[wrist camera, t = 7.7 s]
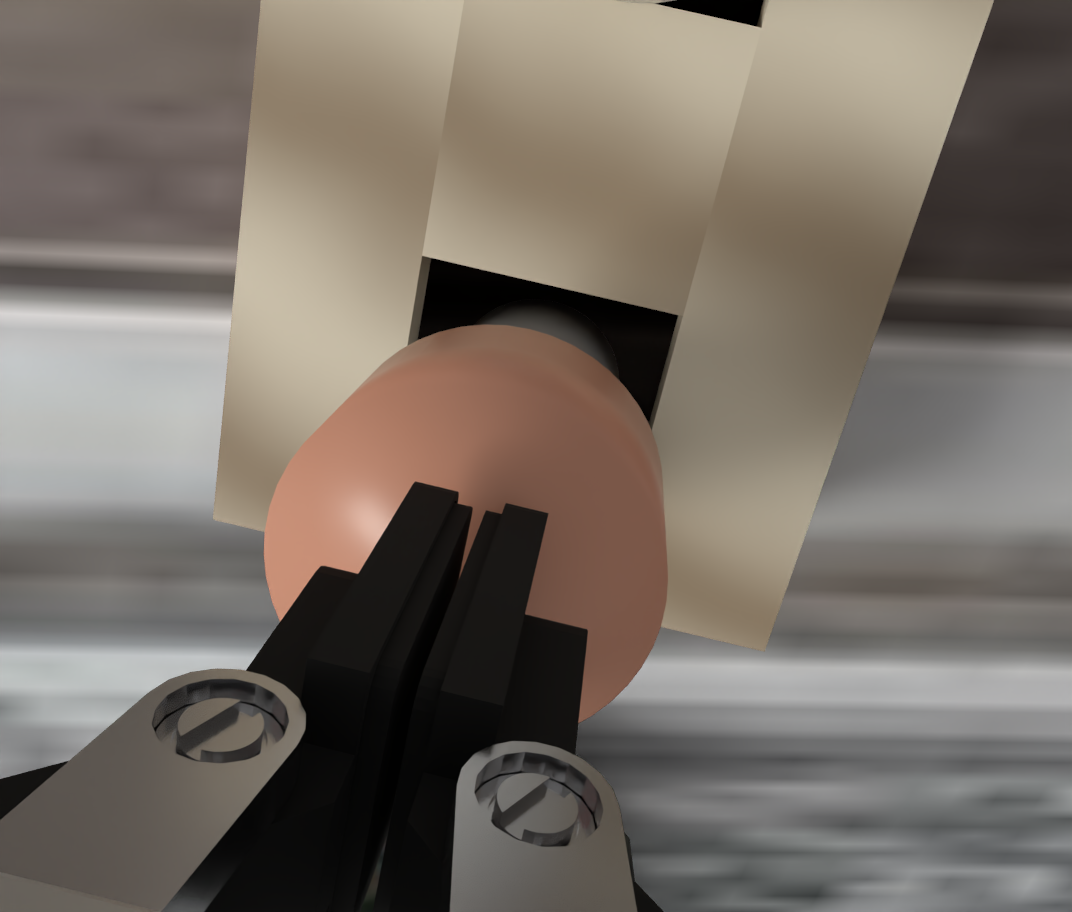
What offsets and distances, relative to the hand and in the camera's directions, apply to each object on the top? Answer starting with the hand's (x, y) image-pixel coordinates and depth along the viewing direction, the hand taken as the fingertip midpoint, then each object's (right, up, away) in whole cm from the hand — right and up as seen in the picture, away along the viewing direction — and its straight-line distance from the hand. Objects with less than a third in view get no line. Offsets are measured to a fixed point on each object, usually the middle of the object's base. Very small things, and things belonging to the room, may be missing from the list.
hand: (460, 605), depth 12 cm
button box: (+2, +10, +12) cm, 15 cm away
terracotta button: (+1, +3, +9) cm, 10 cm away
